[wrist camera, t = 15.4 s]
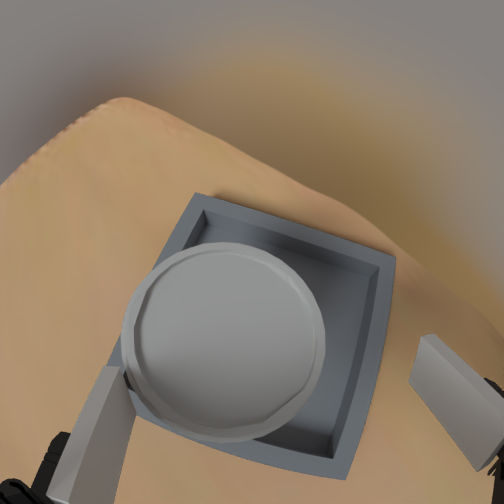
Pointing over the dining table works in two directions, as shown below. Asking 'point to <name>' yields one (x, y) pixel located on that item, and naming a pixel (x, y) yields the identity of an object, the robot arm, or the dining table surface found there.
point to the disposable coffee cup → (223, 342)
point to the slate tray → (335, 323)
